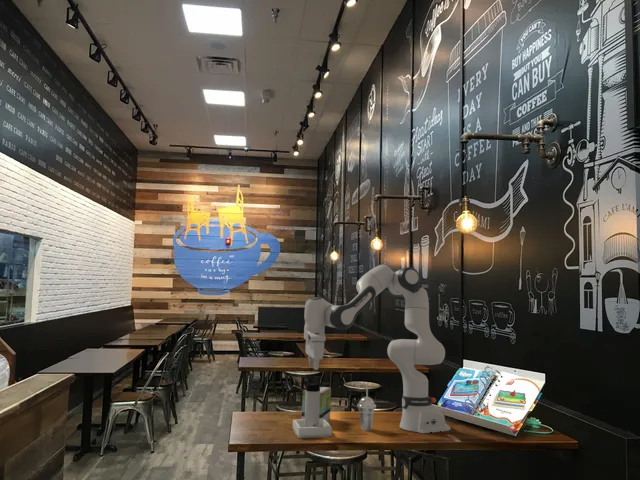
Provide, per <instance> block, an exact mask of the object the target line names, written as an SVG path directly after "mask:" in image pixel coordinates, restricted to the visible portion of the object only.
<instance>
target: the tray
mask: <svg viewBox="0 0 640 480" xmlns="http://www.w3.org/2000/svg"><path fill="white" fill-rule="evenodd" d="M304 423H305V419H300V418H299V419H292V430H293V432H294V433H295V435H296V437H297V439H313V438H314V439H316V438H317V439H319V438H320V439H321V438H332V437H333V436H332V435H333V433H332V432H333V426H332V425H330V423H329V422H328V420H327V421H326V420H325V419H319V427H305V426H304Z"/></svg>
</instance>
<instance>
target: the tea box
mask: <svg viewBox="0 0 640 480" xmlns="http://www.w3.org/2000/svg"><path fill="white" fill-rule="evenodd" d="M305 390H306V389H304V390H302V396H301V398H302V400H301V401H302V402H301V417H300V418H301V419H305V392H306V391H305ZM331 395H332V387H326V386H320V412H319V419H325V420H326V421H327V422H328V421H329V420H330V418H331V403H332V401H331V400H332V398H331V397H332V396H331Z"/></svg>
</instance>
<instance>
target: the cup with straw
mask: <svg viewBox="0 0 640 480" xmlns="http://www.w3.org/2000/svg"><path fill="white" fill-rule="evenodd" d="M355 384H356V385H357V384H358V385H360V386H363V387H366V390H365V394H366V396H363V397H361V399H359V401H358V403H357V405H356V407H357V408H358V412H359V420H360V427H361V428H360V429H361V430H362V431H372V427H373V418H374V413H375V409H376V408H377V405H376V404H375V401H374V399H373V398H371V397H370V396H369V386H368V385H367V384H366V383H362V382H359V381H355Z"/></svg>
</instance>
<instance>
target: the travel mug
mask: <svg viewBox="0 0 640 480" xmlns="http://www.w3.org/2000/svg"><path fill="white" fill-rule="evenodd" d="M321 386H322V382H308V383H306V384H305V389H304V390H305V391H306V392H305V423H304V426H305V427H319V412H320V387H321Z"/></svg>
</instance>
